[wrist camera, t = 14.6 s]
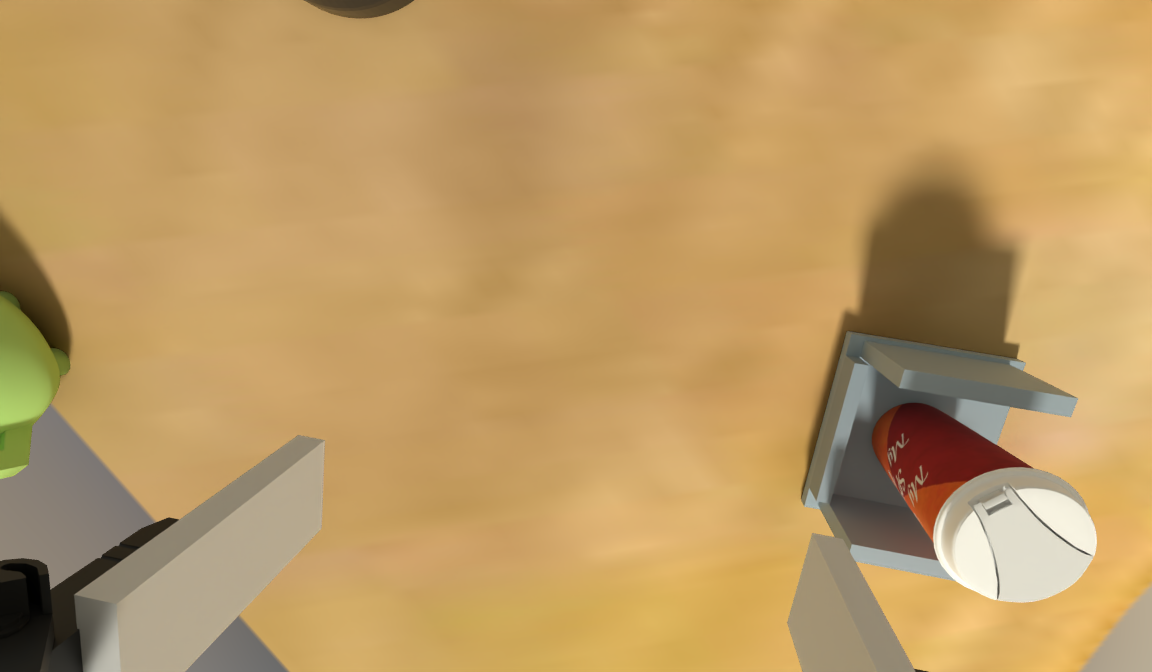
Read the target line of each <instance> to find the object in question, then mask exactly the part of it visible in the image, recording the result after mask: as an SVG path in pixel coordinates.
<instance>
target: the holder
mask: <svg viewBox="0 0 1152 672" xmlns="http://www.w3.org/2000/svg"><path fill="white" fill-rule="evenodd" d="M1025 364H1026V363H1025V362H1023V361H1021V360H1019V359H1015V358H1009V357H1003V356H997V355H991V354H985V353H978V352H972V351H966V350H960V349H954V348H948V347H942V346H936V345H930V344H924V343H918V342H912V341H905V340H899V339H893V338H887V337H881V336H875V335H869V334H863V333H857V332H851V331H847V333H846V336H845V340H844V344H843V347H842V351H841V355H840V359H839V362H838V366H837V370H836V373H835V377H834V381H833V384H832V388H831V392H830V395H829V399H828V403H827V406H826V410H825V414H824V418H823V421H822V425H821V429H820V432H819V436H818V440H817V443H816V447H815V451H814V454H813V458H812V462H811V466H810V469H809V473H808V477H807V480H806V484H805V488H804V491H803V495H802V499H801V501H802V503H803V505H804V507H810V508H815V509H820V510H821V512H822V513H823V515H824V517H825V519H826V521H827V523H828V525H829V527H830V529H831V530H832V532H833V534H834V536H835V537H836V538H841V539H843V540H844V542H845V544H846V546H847V547H848V549H849V551H850V553H851V555H852V557H853V558H854V560H855V562H860V563H865V564H871V565H876V566H881V567H886V568H891V569H896V570H902V571H907V572H912V573H917V574H922V575H927V576H933V577H938V578H943V579H948V580H953V581H956V580H954V579H953V578H952V577H951V576H950V575H949V574H948V573H947V572H946V571H945V569H944V568H943V567H942V565H941V564H940V562H939V560H938V558H937V555H936V552H935V549H934V543H933V542H932V540H931V539H930V537H929V536H928V534H927V533H926V531H925V530H924V528H923V527H922V525H921V524H920V522H919V521H918V519H917V518H916V516H915V515H914V513H913V512H912V510H911V509H910V507H909V506H908V504H907V503H906V501H905V500H904V498H903V497H902V495H901V494H900V492H899V491H898V489H897V488H896V486H895V485H894V483H893V482H892V480H891V479H890V477H889V476H888V474H887V473H886V471H885V470H884V468H883V466H882V465H881V463H880V462H879V460H878V458H877V456H876V454H875V452H874V450H873V446H872V433H873V429H874V427H875V425H876V423H877V421H878V420H879V419H880V417H881V416H882V415H883V414H884V413H886V412H887V411H888V410H890V409H892V408H893V407H896V406H898V405H901V404H905V403H923V404H927V405H930V406H933V407H935V408H937V409H939V410H940V411H942V412H944V413H946V414H947V415H949V416H951V417H952V418H954V419H956V420H957V421H959V422H960V423H962V424H964V425H965V426H967V427H969V428H970V429H972V430H973V431H975V432H977V433H978V434H980V435H981V436H983V437H985V438H986V439H988V440H989V441H991V442H993V443H994V444H996V445H997V442H998V439H999V437H1000V434H1001V431H1002V428H1003V425H1004V422H1005V420H1006V417H1007V414H1008V411H1009V408H1010V407H1014V408H1020V409H1026V410H1032V411H1038V412H1043V413H1049V414H1055V415H1061V416H1067V417H1071V416H1072V413H1073V411H1074V408H1075V405H1076V403H1077V400H1078V398H1076V397H1074V396H1072V395H1070V394H1068V393H1066V392H1064V391H1062V390H1060V389H1058V388H1056V387H1054V386H1052V385H1050V384H1048V383H1046V382H1044V381H1042V380H1040V379H1038V378H1036V377H1034V376H1032V375H1030V374H1028V373H1026V372H1024V371H1023V369H1024V366H1025Z"/></svg>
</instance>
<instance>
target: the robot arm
mask: <svg viewBox="0 0 1152 672" xmlns="http://www.w3.org/2000/svg"><path fill="white" fill-rule="evenodd" d="M304 1H306V2H308V3H310V4H312V5H314V6H315V7H317V8H319V9H321V10H324V11H326V12H329V13H332V14H335V15H338V16H343V17H348V18H372V17H378V16H382V15H386V14H389V13H392V12H394V11H396V10H399V9H401V8H403V7H404V6H406V5H408V4H409V3H411V2H412V1H414V0H304ZM324 450H325V440H321V439H316V438H310V437H305V436H300V435H298V436H296V437H295V438H294V439H292V440H291V441H289V442H288V443H287V444H285V445H284V446H282V447H281V448H280V449H278V450H277V451H275V452H274V453H273V454H271V455H270V456H268V457H267V458H266V459H264V460H263V461H261V462H260V463H259V464H257V465H256V466H254V467H253V468H251V469H250V470H249V471H247V472H246V473H244V474H243V475H242V476H240V477H239V478H237V479H236V480H235V481H233V482H232V483H230V484H229V485H228V486H226V487H225V488H223V489H222V490H221V491H219V492H218V493H216V494H215V495H214V496H212V497H211V498H209V499H208V500H207V501H205V502H204V503H202V504H201V505H200V506H198V507H197V508H195V509H194V510H192V511H191V512H190V513H188V514H187V515H185V516H184V517H183V518H181V519H180V520H179V519H174V518H166V519H164V520H161V521H159V522H156V523H154V524H151V525H149V526H146V527H144V528H141V529H140V530H138V531H137V532H135V533H134V534H132V535H131V536H130V537H128V538H127V539H125V540H124V541H122V542H121V543H120V545H119V546H115V547H113V548H112V549H110V550H109V551H107V552H106V553H104V554H103V555H102V557H101V558H97V559H95V560H94V561H93V562H91V563H90V564H88V565H87V566H85V567H84V568H82V569H81V570H79V571H78V572H76V573H75V574H73V575H72V576H70V577H69V578H67V579H66V580H64V581H63V582H61V583H60V584H58V585H57V586H55V587H54V588H52V589H51V590H50V582H49V574H48V568H47V565H45V564H44V563H42V562H40V561H39V560H32V559H24V558H21V559H11V560H3V561H0V672H185V671H186V670H187V669H188V668H189V666H191V665H192V664H193V663H194V661H195V660H196V659H197V658H198V657H199V656H200V655H201V654H202V653H203V652H204V651H205V650H206V649H207V648H208V647H209V646H210V645H211V644H212V642H214V641H215V639H216V638H217V637H218V636H219V635H220V634H221V633H222V632H223V631H224V630H225V629H226V628H227V627H228V626H229V625H230V624H231V623H232V622H233V621H234V620H235V619H236V617H237V616H238V615H239V614H240V613H241V612H242V611H243V610H244V609H245V608H246V607H247V606H248V605H249V604H250V603H251V602H252V601H253V600H254V599H255V598H256V597H257V595H258V594H259V593H260V592H261V591H262V590H263V589H264V588H265V587H266V586H267V585H268V584H269V583H270V582H271V581H272V580H273V579H274V578H275V577H276V576H277V575H278V574H279V572H280V571H281V570H282V569H283V568H284V567H285V566H286V565H287V564H288V563H289V562H290V561H291V560H292V559H293V558H294V557H295V556H296V555H297V554H298V553H299V552H300V550H301V549H302V548H303V547H304V546H305V545H306V544H307V543H308V542H309V541H310V540H311V539H312V538H313V537H314V536H315V535H316V534H317V533H318V532H319V531H320V530H321V528H322V503H323V476H324ZM787 624H788V627H789V630H790V633H791V636H792V639H793V643H794V646H795V649H796V652H797V655H798V658H799V662H800V665H801V668H802V671H803V672H927V671H922V670H917V669H914V668H913V666H912V664H911V662H910V660H909V659H908V657H907V655H906V653H905V651H904V650H903V648H902V646H901V644H900V642H899V640H898V639H897V637H896V635H895V633H894V631H893V629H892V628H891V626H890V624H889V622H888V620H887V619H886V617H885V615H884V613H883V611H882V609H881V608H880V606H879V604H878V602H877V600H876V598H875V597H874V595H873V593H872V591H871V589H870V588H869V586H868V584H867V582H866V580H865V578H864V577H863V575H862V573H861V571H860V569H859V567H858V566H857V564H856V562H855V560H854V558H853V557H852V555H851V553H850V551H849V549H848V547H847V546H846V544H845V542H844V540H843V539H841V538H836V537H830V536H825V535H820V534H815V533H812V536H811V540H810V543H809V547H808V551H807V554H806V558H805V561H804V565H803V568H802V572H801V575H800V579H799V583H798V586H797V590H796V593H795V597H794V600H793V604H792V608H791V611H790V615H789V618H788V622H787Z"/></svg>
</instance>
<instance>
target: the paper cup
mask: <svg viewBox="0 0 1152 672" xmlns="http://www.w3.org/2000/svg"><path fill="white" fill-rule="evenodd" d="M872 446H873V450H874V452H875V454H876V456H877V458H878V460H879V462H880V463H881V465H882V466H883V468H884V470H885V471H886V473H887V474H888V476H889V477H890V479H891V480H892V482H893V483H894V485H895V486H896V488H897V489H898V491H899V492H900V494H901V495H902V497H903V498H904V500H905V501H906V503H907V504H908V506H909V507H910V509H911V510H912V512H913V513H914V515H915V516H916V518H917V519H918V521H919V522H920V524H921V525H922V527H923V528H924V530H925V531H926V533H927V534H928V536H929V537H930V539H931V540H932V542H933V543H934V549H935V552H936V555H937V558H938V560H939V562H940V564H941V565H942V567H943V568H944V569H945V571H946V572H947V573H948V574H949V575H950V576H951V577H952V578H953V579H954V580H956V581H957V582H958V583H960V584H962V585H963V586H965V587H967V588H969V589H971V590H974V591H976V592H978V593H980V594H982V595H984V596H986V597H989V598H991V599H994V600H997V599H998V600H999V601H1008V602H1034V601H1038V600H1042V599H1045V598H1048V597H1051V596H1053V595H1056V594H1057V593H1059V592H1061V591H1063V590H1065V589H1067V588H1068V587H1069V586H1071V585H1072V584H1074V583H1075V582H1076V581H1077V580H1078V579H1079V578H1080V577H1081V576H1082V574H1083V573H1084V571H1085V570H1086V569H1087V567H1088V566H1089V564H1090V562H1091V561H1092V559H1093V556H1094V555H1095V552H1096V545H1097V538H1096V530H1095V526H1094V523H1093V521H1092V519H1091V517H1090V515H1089V513H1088V509H1087V507H1086V505H1085V503H1084V501H1083V499H1082V497H1081V496H1080V495H1079V493H1078V492H1077V491H1076V490H1075V489H1074V488H1073V487H1072V486H1071V485H1070V484H1069V483H1067V482H1066V481H1064V480H1062V479H1061V478H1059V477H1058V476H1055V475H1053V474H1051V473H1048V472H1045V471H1042V470H1038V469H1034V468H1032V467H1031V466H1029V465H1028V464H1026V463H1024V462H1023V461H1021V460H1020V459H1018V458H1016V457H1015V456H1013V455H1012V454H1010V453H1008V452H1007V451H1005V450H1004V449H1002V448H1001V447H999V446H997V445H996V444H994V443H993V442H991V441H989V440H988V439H986V438H985V437H983V436H981V435H980V434H978V433H977V432H975V431H973V430H972V429H970V428H969V427H967V426H965V425H964V424H962V423H960V422H959V421H957V420H956V419H954V418H952V417H951V416H949V415H947V414H946V413H944V412H942V411H940V410H939V409H937V408H935V407H933V406H930V405H927V404H923V403H905V404H901V405H898V406H896V407H893V408H892V409H890V410H888V411H887V412H886V413H884V414H883V415H882V416H881V417H880V419H879V420H878V421H877V423H876V425H875V427H874V429H873V433H872ZM1092 555H1093V556H1092Z"/></svg>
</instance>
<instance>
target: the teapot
mask: <svg viewBox="0 0 1152 672" xmlns="http://www.w3.org/2000/svg"><path fill="white" fill-rule="evenodd" d="M69 369H70V361H69V358H68V356H67V355H66V354H65V353H64V352H63V351H62V350H60V349H57V348H50V347H49V345H48V343H47V342H46V340H45V338H44V337H43V335H42V334H41V333H40V331H39V330H38V328H37V327H36V326H35V325H34V324H33V322H32V321H31V320H30V319H29V318H28V317H27V316H26V315H25V314H24V313H23V312H22V311H21V310H20V304H19V302H18V300H17V299H16V297H15V296H14V295H12V294H11V293H9V292H6V291H2V292H0V479H1V478H6V477H11V476H14V475H16V474H17V473H18V472H20V471H21V470H22V469H23V468H25V467H26V466H27V465H28V464H29V455H30V444H31V433H32V425H33V424H34V423H35V422H36V421H37V420H38V419H39V418H40V417H41V416H42V414H43V413H44V412H45V410H46V409H47V408H48V406H49V405H50V403H51V402H52V400H53V398H54V397H55V395H56V393H57V391H58V388H59V385H60V375H65V374H66V373H68V371H69Z"/></svg>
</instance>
